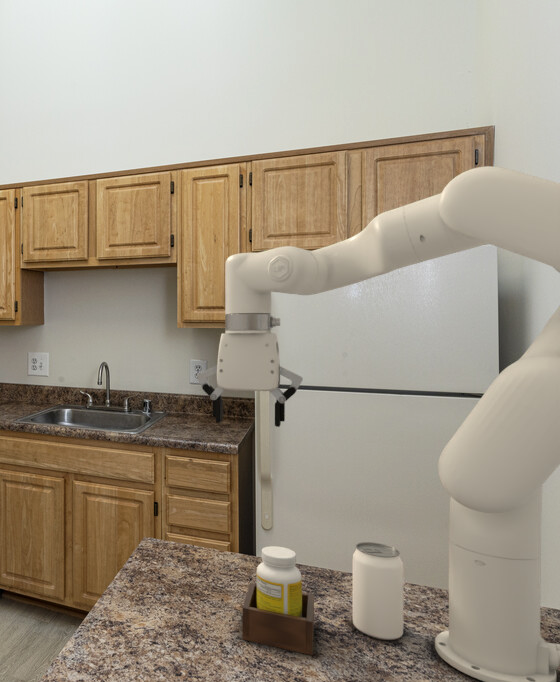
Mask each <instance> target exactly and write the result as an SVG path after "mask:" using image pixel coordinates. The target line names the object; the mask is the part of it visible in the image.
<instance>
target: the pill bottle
mask: <svg viewBox="0 0 560 682" xmlns="http://www.w3.org/2000/svg"><path fill="white" fill-rule="evenodd" d="M261 560H262V561H261V562H260V563H259V564H258V565H257V567H256V584H257V608H258V609H263V610H268V611H273V612H278V613H283V614H288V615H293V616H298V617H302V592H303V578H302V573H301V570H300V569H299V568H297V566H296V565H297V554H296V552H295V551H294V550H292V549H290V548H287V547H282V546H277V545H273V546H272V545H271V546H265V547H262V549H261Z"/></svg>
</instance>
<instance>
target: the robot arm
mask: <svg viewBox="0 0 560 682" xmlns="http://www.w3.org/2000/svg"><path fill="white" fill-rule="evenodd" d="M486 245H491V246H494V247H497V248H500V249H503V250H505V251H508V252H511V253H513V254H517V255H519V256H521V257H525V258H527V259H531V260H534V261H536V262H539V263H542V264H545V265H546V266H550V267H552V268H553V269H554V270H555V271H556V272H557V273H559V274H560V183H559V182H557V181H553V180H549V179H545V178H542V177H539V176H535V175H532V174H529V173H525V172H521V171H517V170H514V169H510V168H508V167H502V166H490V165H485V166H478V167H474V168H471V169H468V170H466V171H463V172H461V173H460V174H458V175H456V176H455V177H454V178H452V179H451V180H450V181H448V183H447V184H446V185H445V186H444V188H443V189H442V191H441V192H439V193H437V194H434V195H432V196H429V197H426V198H423V199H420V200H416V201H414V202H411V203H408V204H404V205H402V206H399V207H397V208H393V209H390V210H386V211H384V212H381V213H379V214H378V215H376V216H375V217H373V218H372V220H371V221H370V222H369V223H368V224H367V225H366V227H364V229H362V230H361V231H360V232H358V233H356V234H355V235H353V236H350V237H349V238H347V239H344V240H341V241H338V242H335V243H333V244H330V245H327V246H324V247H321V248H318V249H314V250H309V249H305V248H301V247H297V246H292V245H284V246H279V247H275V248H274V247H273V248H271V249H268V250H264V251H263V250H262V251H259V252H241V253H235V254H231V255H229V256H228V257H227V259H226V260H225V264H224V265H225V266H224V275H225V276H224V312H225V313H224V318H225V320H224V321H225V322H224V333H221V335H220V340H219V344H218V351H217V352H218V353H217V362H216V363H217V364H216V365H214V366H212V367H210V368H208V369H206V370H204V371H201V372H200V373H198V374H197V375H196V378H197V381H198V382H199V384H200V387H201V389H202V390H203V392H205V394H207V396H209V398H210V400H212V418H215V423H216V424H220V423H221V422H223V420H224V400H223V398H222V395H223V394H224V393H225V392H226V391H245V392H269V393H271V394H272V396H273V397H274V398H275V399H276V400H275V403H274V426H275V427H276V428H280V426H281V424H282V423H281V422H285V419H286V418H285V417H286V410H285V409H286V406H285V405H286V402H287V401H288V400H289V399H290V398H292V396H294V395H295V393H296V392H297V391H298V389H299V387H300V385H301V384H302V382H303V380H304V379H303V376H301V375H299V374H297V373H295V372H294V371H291V370H289V369H288V368H285V367H283V366H281V363H280V362H281V361H280V348H279V341H278V335H277V332H272V330H273V329H272V328H276V327H281V318H280V317H274V316H273V315H272V293H280V294H288V295H298V296H313V295H319V294H321V293H325V292H330V291H333V290H336V289H340V288H344V287H348V286H351V285H355V284H358V283H361V282H364V281H367V280H369V279H372V278H375V277H380V276H382V275H386V274H389V273H391V272H394V271H395V270H399V269H402V268H406V267H410V266H413V265H416V264H420V263H423V262H427V261H431V260H434V259H437V258H441V257H445V256H449V255H453V254H456V253H461V252H464V251H468V250H471V249H475V248H478V247H482V246H486ZM215 374H216V383H217V387H216V388H214V387H213V386H212V385H211V384H210V383H209V380H208V378H209V377H211V376H213V375H215ZM281 376H282V377H283V378H286V379H288V380H290V381H291V384H290V385H289V387H288V388H287V389H286V390H285V391H282V390H281V389H280V388H279V387H280V385H281ZM559 466H560V305H559V306H558V307H557V308H556V310H555V311H554V313H553V314H552V315H551V317H550V318H549V319H548V320H547V322H546V324H545V325H544V327H543V329H542V330H541V331H540V333H539V334H538V335H537V337H536V338H535V339H534V341H532V343H531V344H530V345H529V347H528V348H527V350H526V351H525V352H524V354H523V355H522V356H520V358H518V359H517V360H516V361H515V362H513V363H511V364H509V365H508V366H507V367H505V368H504V369H503V370H502V371H501V372H500V373H499V374H498V375H497V376H496V377H495V379H494V380H493V381H492V382H491V384H490V385H489V387H487V389H486V391H485V392H484V393H483V395H482V396H481V397H480V399H479V400H478V402H477V403H476V404H475V405H474V407H473V408H472V410H471V411H470V412H469V414H468V415H467V416H466V418H465V419H464V420H463V422H462V423H461V425H460V426H459V427H458V428H457V430H456V431H455V433H454V434H453V435H452V437H451V438H450V440H448V442H447V444H446V445H445V446H444V448H443V449H442V451H441V453H440V455H439V458H438V461H437V473H438V477H439V480H440V482H441V485H442V487H443V488H444V490H445V492H446V493H447V494H448V495H449V497H450V498H449V516H448V517H449V520H448V532H449V533H448V630H444V631H441V632H439V633H438V634H437V635H436V636H435V638H434V648H435V651H436V653H437V655H438V656H439V657H440V658H441V659H442V660H443V661H445V662H446V663H447V664H448V665H449V666H451V667H453V668H454V669H456V670H457V671H459V672H461V673H463V674H465V675H467V676H469V677H471V678H473V679H477V680H478V681H481V682H557V678H558V677H557V676H558V675H557V670H556V669H559V667H560V643H552V642H548V641H546V640H545V639H544V638H543V637H542V636H541V582H542V581H541V578H542V577H541V573H542V571H541V569H542V568H541V567H542V566H541V565H542V564H541V563H542V561H541V559H542V557H541V556H542V514H543V513H542V512H543V511H542V509H543V486H544V484H545V483H546V481H547V480H548V479H549V478H550V477H551V476H552V474H553V473H554V472H555V471H556V470H557V468H559Z"/></svg>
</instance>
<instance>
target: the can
mask: <svg viewBox="0 0 560 682" xmlns="http://www.w3.org/2000/svg"><path fill="white" fill-rule="evenodd" d="M355 548H356V549H355V550H354V552H353V554H352V624H353V626H354V627H355V629H356V630H357V631H359V632H360V633H361V634H363V635H365V636H368V637H370V638H373V639H376V640H382V641H395V640H398V639H400V638H401V637H402V636H403V635H404V562H403V560H402V558H401V556H400V554H401V552H400V550H399V549H397V548H395V547H393V546H391V545H388V544H386V543H385V544H384V543H379V542H370V541H363V542H362V541H361V542H358V543H356V545H355Z"/></svg>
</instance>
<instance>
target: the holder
mask: <svg viewBox="0 0 560 682" xmlns="http://www.w3.org/2000/svg"><path fill="white" fill-rule="evenodd" d="M314 631H315V594H313V593H308V592H303V591H302V617H298V616H293V615H288V614H283V613H278V612H273V611H268V610H263V609H258V608H257V583H255V582H254V583H253V582H250V583H249V585H248V589H247V591H246V595H245V598H244V602H243V605H242V640H243V641H246V642H247V641H248V642H253V643H257V644H260V645H261V644H262V645H266V646H269V647H275V648H277V649H283V650H288V651H291V652H297V653H300V654H305V655H310V656H313V655H314V635H315V634H314Z"/></svg>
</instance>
